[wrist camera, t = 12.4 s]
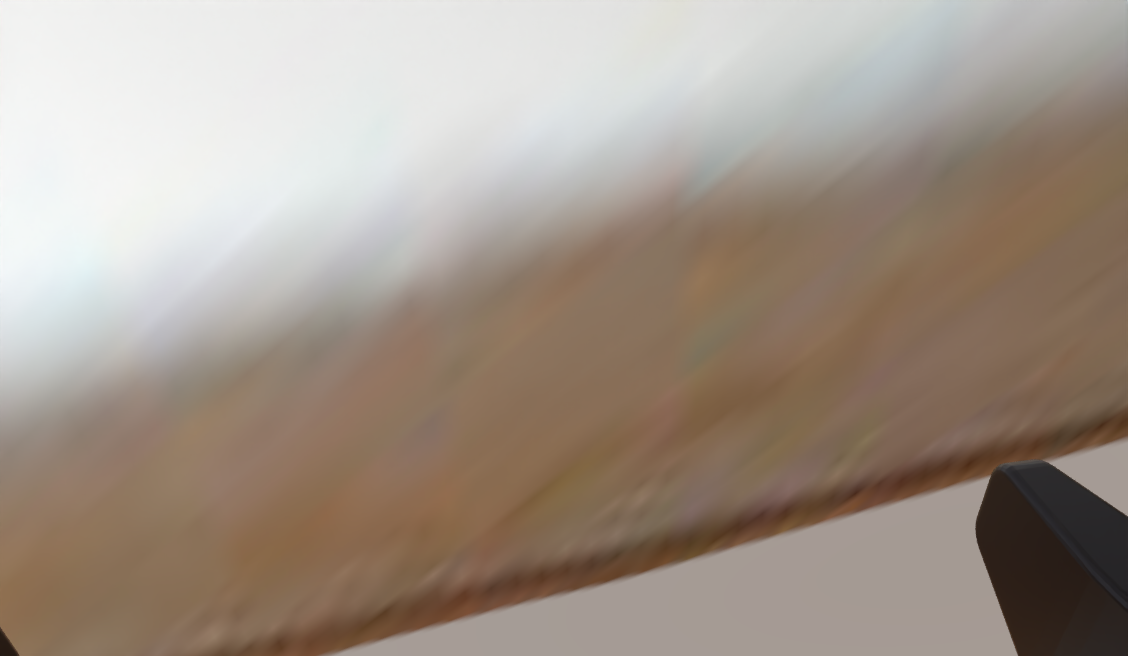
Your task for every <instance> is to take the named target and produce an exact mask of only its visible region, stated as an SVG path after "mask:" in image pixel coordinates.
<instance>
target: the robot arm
mask: <svg viewBox="0 0 1128 656" xmlns="http://www.w3.org/2000/svg"><path fill="white" fill-rule="evenodd" d="M975 529H976V538H977V543H978V546H979V549H980V552H981V555H982V558H983V561H984V563H985V566H986V569H987V571H988V574H989V577H990V580H991V583H992V585H993V588H994V591H995V594H996V596H997V599H998V602H999V604H1000V607H1001V610H1002V613H1003V616H1004V618H1005V621H1006V624H1007V627H1008V629H1009V632H1010V635H1011V638H1012V641H1013V643H1014V646H1015V649H1016V652H1017V654H1018V656H1128V516H1126V515H1125V514H1123V513H1122V512H1120V511H1119V510H1117V509H1116V508H1115V507H1113V506H1112V505H1110V504H1109V503H1107V502H1106V501H1104V500H1103V499H1101V498H1100V497H1098V496H1097V495H1095V494H1094V493H1092V492H1091V491H1090V490H1088V489H1087V488H1085V487H1084V486H1082V485H1081V484H1079V483H1078V482H1076V481H1075V480H1073V479H1072V478H1070V477H1069V476H1067V475H1066V474H1065V473H1063V472H1062V471H1060V470H1059V469H1057V468H1056V467H1054V466H1053V465H1051V464H1049V463H1047V462H1045V461H1042V460H1025V461H1018V462H1010V463H1004V464H1000V465H999V466H998V467H996V468H995V469H994V470H993V472H992V474H991V477H990V480H989V483H988V486H987V489H986V492H985V495H984V498H983V501H982V504H981V507H980V510H979V513H978V516H977V520H976V528H975ZM0 656H19V654H18V652H17V651H16V649H15V648H14V646H13V645H12V643H11V642H10V641H9V639H8V638H7V636H6V635H5V633H4V632H3V630H2V629H1V628H0Z"/></svg>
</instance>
